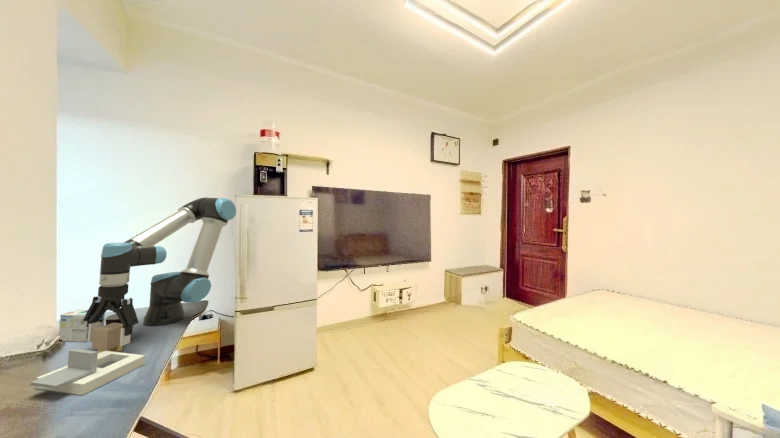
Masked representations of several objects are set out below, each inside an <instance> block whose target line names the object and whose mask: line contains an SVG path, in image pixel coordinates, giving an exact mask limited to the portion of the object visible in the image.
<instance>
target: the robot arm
mask: <svg viewBox="0 0 780 438" xmlns="http://www.w3.org/2000/svg"><path fill="white" fill-rule="evenodd" d="M236 214H237V207H236V205H235V203H234V202H233V201H232V200H231V199H229V198H224V197H200V198H197V199H195V200H192V201H190V202H188V203H186V204H184V205H182V206H181V207H179V208H178V209H177V211H176V212H174V213H172V214H170V215H169V216H167V217H166V218H163V219H162V220H161V221H158V222H157V223H155V224H153V225H151V226H150V227H148V228H147V229H144V231H141V232H140V233H138V234H136V235H134V236H133V237H131V238H129V239H128V240H126V241H124V242H108V243H107V242H106V243H104V244H103V246H102V248H101V249H102V250H101V255H100V267H99V268H100V270H99V283H98V284H99V287H98V290H97V296H93V298H92V300H91V301H92V302H91V304H90V306H89V308H88V309H87V310H88V311H87V313H86V315H85V317H84V319H83V321H87V323H88V324H89V326H88V327H89V328H88V341H87V343H91V342H92V341H93V329H95V328H98V327H100V322H99V321H100V318H101V317H102V315H103V314H104V313H105V314H106V312H107V311H112V312H113V313H114V314H117V316H118V318H119V319H120V321H121V323H122V324H123V327H121V336H120V346H125V345H127V344H130V343H131V339H130V337H131V338H132V335H131V334H133V330H132V326H133V325H134V326H135V325H138V324H139V320H138V319H139V318H138V316H137V312H136V310H135V307H134V305H133V300H134V299H133V298H132V297H130V298H125V296H126V295H127V294H128V293H129V282H130V275H131V267H140V266H149V265H156V264H157V265H158V264H161V263H163V262H165V261H166V259H167V250H166V249H165V248H164V247H163V246H160V245H159V246H157V244H158V243H160V242H162V241H163V240H165V239H167V238H168V237H169V236H171V235H172V234H174V233H176V232H178V231H179V230H180V229H182V228H183V227H185V226H187V225H188V224H189V223H190V224H194V223H195V222H196V221H200V220H201V221H202V226H201V228H200V231H199V233H198V236H197V238H196V241H195V244H194V247H193V250H192V251H191V255H190V257H189V260H188V261H187V262H188V263H187V265H186V268H185V269H183V270H181V271H173V272H165V273H158V274H155V275H153V276H152V277H151V281H150V293H149V304H148V305H149V306H148V309H147V311H146V312H145V313H146V314H145V315H144V317H143V320H142V324H143V325H145V326H149V327H150V326H154V327H155V326H162V325H168V324H172V323H173V324H174V323H176V322H179V321H181V320H182V319H184V318H185V311H184V308H183V304H182V302H184V303H198V302H200V301H202V300H203V299H205V298H206V297H207V296H208V294H210V291H211V289H212V283H211V280H210V279H209V277H210V274H209V272H208V269H209V267H210V263H211V262H212V257H213V255H214V253H215V249H216V247H217V243H218V241H219V237H220V236H221V232H222V229H223V228H224V227H225V226H227V225H228V222H229V221H231V220H233V219H235V216H236ZM135 312H136V313H135ZM89 316H91V317H89ZM96 321H98V322H96ZM134 326H133V327H134Z"/></svg>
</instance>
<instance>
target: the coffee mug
mask: <svg viewBox="0 0 780 438" xmlns="http://www.w3.org/2000/svg"><path fill="white" fill-rule="evenodd" d="M135 313H136V314H137V312H136V311H135ZM104 320H105V325H108V324H111V323H121V321H120V319H119V318H118V316H117V314H116V313H114V314H110V315H107V316H106V317H104ZM121 324H122V323H121ZM134 326H135V325H133V326H132V331H133V329H134ZM132 334H133V333H132ZM132 334H131V337H130V340H131V338H132Z"/></svg>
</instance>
